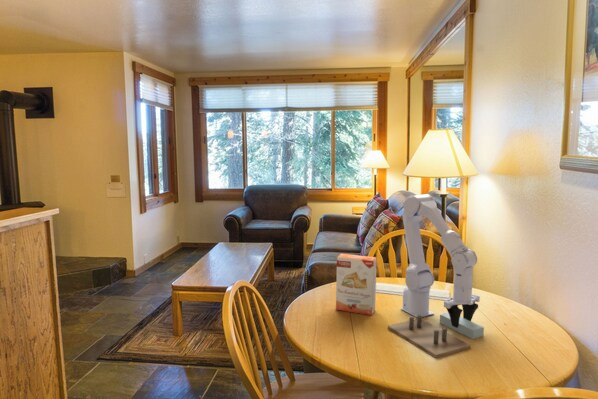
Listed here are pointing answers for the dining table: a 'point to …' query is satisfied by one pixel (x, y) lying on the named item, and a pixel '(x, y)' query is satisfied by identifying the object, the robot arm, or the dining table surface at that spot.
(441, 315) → the pale grey block
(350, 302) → the cracker box
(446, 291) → the baseboard molding
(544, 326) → the dining table surface
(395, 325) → the brown slab
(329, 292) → the dining table surface
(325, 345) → the dining table surface
